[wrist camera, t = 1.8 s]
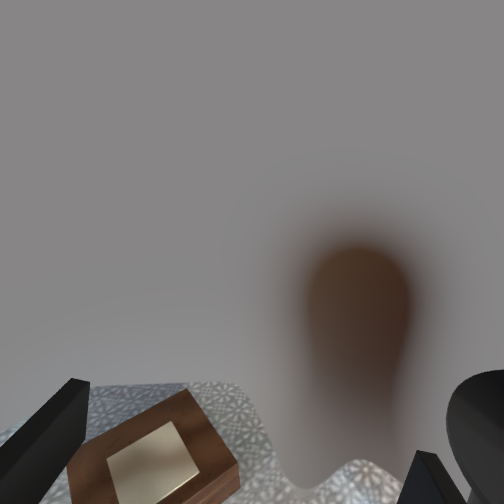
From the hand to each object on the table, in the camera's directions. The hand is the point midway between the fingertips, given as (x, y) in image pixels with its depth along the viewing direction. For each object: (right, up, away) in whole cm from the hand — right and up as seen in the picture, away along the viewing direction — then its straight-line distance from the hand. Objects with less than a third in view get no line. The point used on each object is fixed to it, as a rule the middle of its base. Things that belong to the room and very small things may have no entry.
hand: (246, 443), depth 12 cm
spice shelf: (-10, -17, +21) cm, 29 cm away
